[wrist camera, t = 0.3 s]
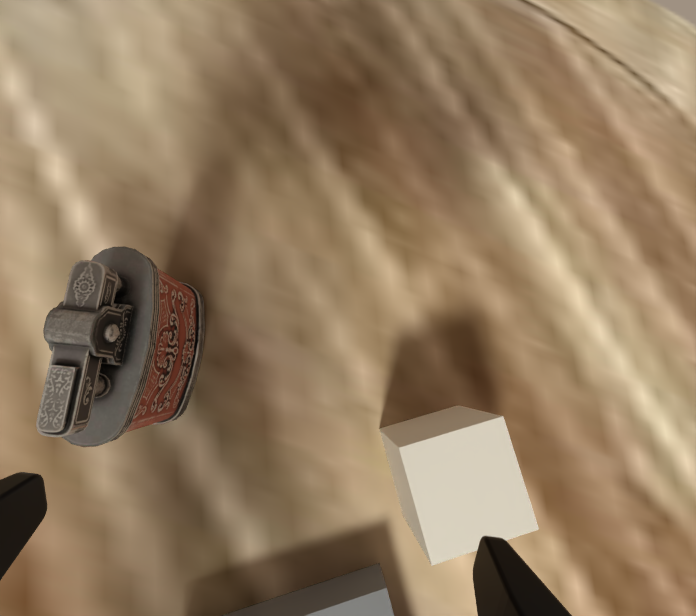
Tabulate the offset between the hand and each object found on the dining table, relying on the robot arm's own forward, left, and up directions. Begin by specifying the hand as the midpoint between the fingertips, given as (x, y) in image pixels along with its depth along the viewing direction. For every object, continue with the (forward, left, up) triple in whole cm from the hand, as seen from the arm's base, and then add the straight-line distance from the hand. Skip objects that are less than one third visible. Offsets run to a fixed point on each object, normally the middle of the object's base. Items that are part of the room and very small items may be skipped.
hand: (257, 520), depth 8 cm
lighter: (+6, +6, -16) cm, 18 cm away
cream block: (-4, -7, -15) cm, 17 cm away
